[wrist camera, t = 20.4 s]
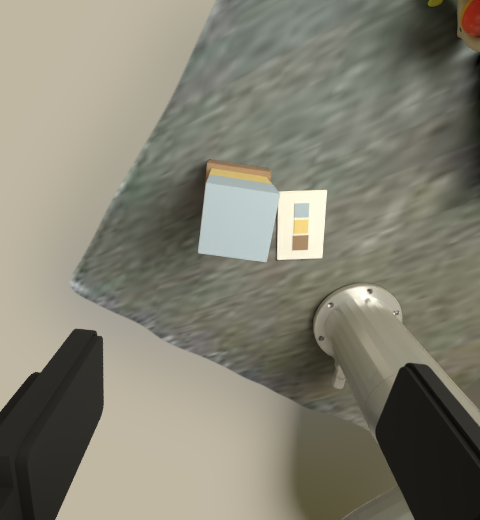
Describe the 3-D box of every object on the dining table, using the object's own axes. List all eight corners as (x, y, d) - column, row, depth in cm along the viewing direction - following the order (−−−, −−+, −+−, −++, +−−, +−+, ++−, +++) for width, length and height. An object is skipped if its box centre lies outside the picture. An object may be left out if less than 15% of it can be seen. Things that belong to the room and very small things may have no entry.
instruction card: (321, 257, 44) (322, 258, 43) (277, 259, 44) (277, 260, 43) (326, 189, 40) (327, 190, 40) (277, 191, 40) (278, 192, 40)
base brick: (257, 224, 42) (260, 233, 38) (203, 216, 41) (200, 225, 37) (267, 168, 39) (271, 172, 35) (209, 159, 39) (207, 162, 35)
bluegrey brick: (261, 243, 33) (266, 262, 29) (202, 235, 33) (197, 253, 28) (272, 184, 31) (280, 193, 26) (209, 174, 30) (205, 182, 26)
